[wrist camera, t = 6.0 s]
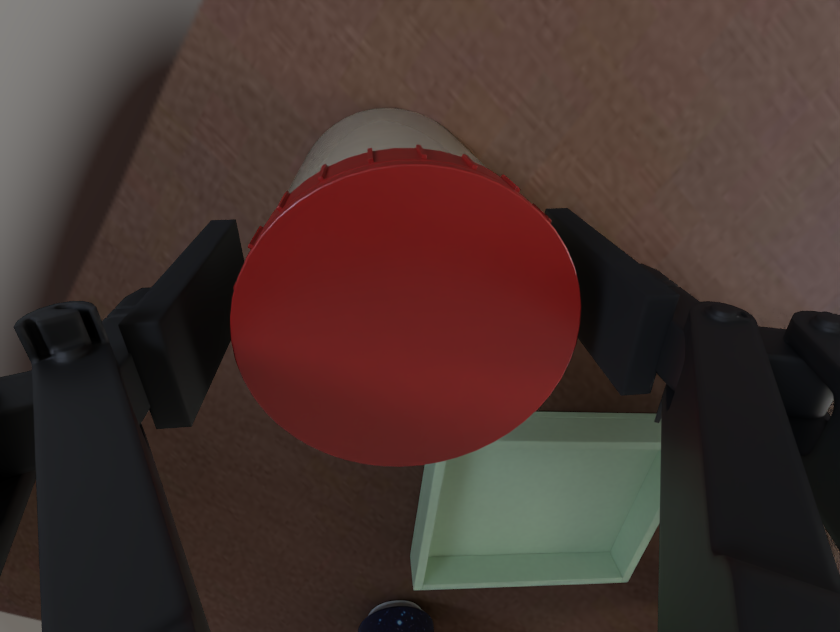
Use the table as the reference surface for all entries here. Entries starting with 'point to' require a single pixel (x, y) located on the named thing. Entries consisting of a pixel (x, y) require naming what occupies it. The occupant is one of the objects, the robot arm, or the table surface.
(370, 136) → the jar
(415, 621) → the beverage can
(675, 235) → the table surface
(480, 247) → the jar lid
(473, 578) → the tray
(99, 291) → the table surface
